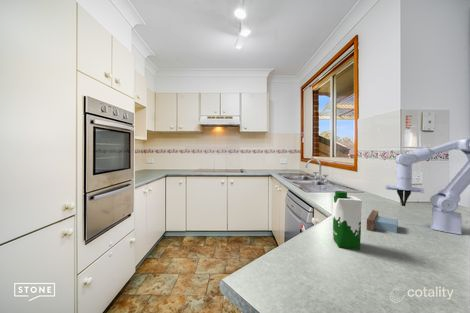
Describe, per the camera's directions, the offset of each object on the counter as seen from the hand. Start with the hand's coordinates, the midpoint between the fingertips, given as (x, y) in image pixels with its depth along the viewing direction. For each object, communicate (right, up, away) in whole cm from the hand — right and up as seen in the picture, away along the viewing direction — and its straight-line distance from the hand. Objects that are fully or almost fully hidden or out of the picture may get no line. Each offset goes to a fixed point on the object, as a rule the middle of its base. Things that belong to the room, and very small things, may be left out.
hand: (403, 205), depth 100 cm
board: (-16, -9, -1) cm, 18 cm away
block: (-12, -10, -5) cm, 16 cm away
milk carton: (-41, -9, -23) cm, 48 cm away
